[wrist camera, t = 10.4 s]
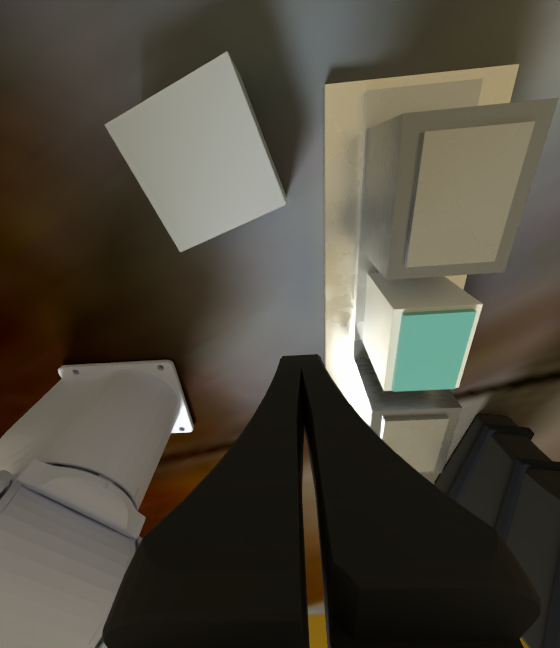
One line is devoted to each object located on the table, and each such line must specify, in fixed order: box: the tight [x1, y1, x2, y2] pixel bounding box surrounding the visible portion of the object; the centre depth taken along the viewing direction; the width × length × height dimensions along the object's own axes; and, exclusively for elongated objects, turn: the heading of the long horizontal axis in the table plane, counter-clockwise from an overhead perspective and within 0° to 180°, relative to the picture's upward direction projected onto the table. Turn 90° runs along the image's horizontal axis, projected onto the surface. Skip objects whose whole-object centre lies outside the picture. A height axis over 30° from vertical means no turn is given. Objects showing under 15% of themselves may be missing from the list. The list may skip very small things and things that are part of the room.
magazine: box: [434, 414, 560, 648], centre depth 23 cm, size 4×13×15 cm, turn 174°
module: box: [363, 273, 483, 392], centre depth 17 cm, size 4×5×5 cm
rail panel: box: [323, 64, 558, 474], centre depth 17 cm, size 9×24×7 cm, turn 5°
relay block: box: [105, 52, 286, 252], centre depth 15 cm, size 6×6×4 cm
